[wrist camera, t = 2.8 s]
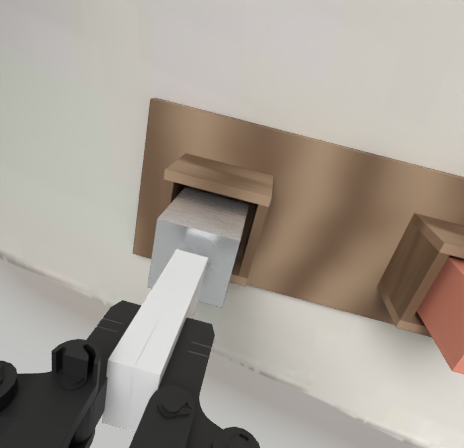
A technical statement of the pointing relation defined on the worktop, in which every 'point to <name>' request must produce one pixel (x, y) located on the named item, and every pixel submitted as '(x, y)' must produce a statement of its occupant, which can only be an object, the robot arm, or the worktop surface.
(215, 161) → the socket panel
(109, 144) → the worktop surface
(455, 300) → the salmon pink plug
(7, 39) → the worktop surface
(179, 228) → the steel plug
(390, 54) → the worktop surface
